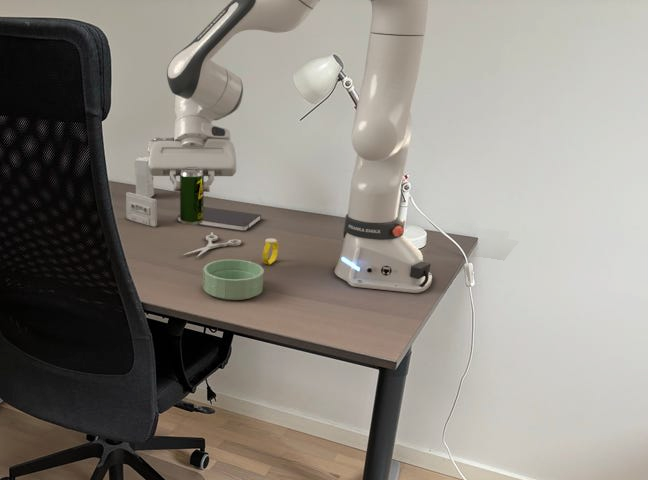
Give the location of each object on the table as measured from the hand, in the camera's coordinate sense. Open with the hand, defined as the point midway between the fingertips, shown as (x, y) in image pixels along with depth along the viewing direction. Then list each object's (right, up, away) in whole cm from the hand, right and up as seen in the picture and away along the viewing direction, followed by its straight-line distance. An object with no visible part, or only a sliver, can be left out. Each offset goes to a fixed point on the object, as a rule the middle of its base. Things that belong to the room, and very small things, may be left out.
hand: (192, 190), depth 168 cm
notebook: (+8, +2, +47) cm, 48 cm away
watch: (+19, -15, +15) cm, 29 cm away
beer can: (0, -7, +3) cm, 7 cm away
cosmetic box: (-15, +14, +70) cm, 73 cm away
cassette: (-14, +1, +45) cm, 47 cm away
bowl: (+9, -23, -1) cm, 25 cm away
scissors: (+5, -10, +25) cm, 27 cm away
